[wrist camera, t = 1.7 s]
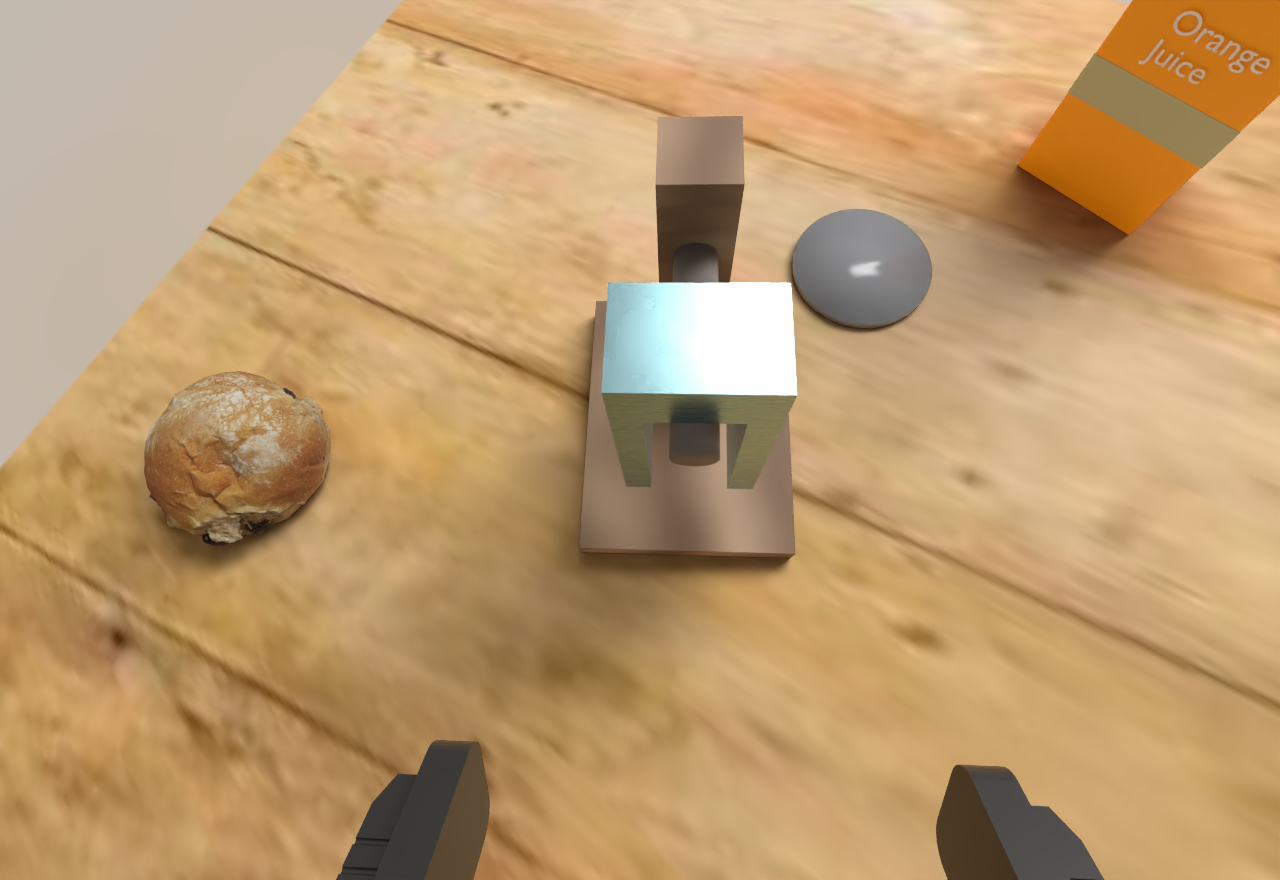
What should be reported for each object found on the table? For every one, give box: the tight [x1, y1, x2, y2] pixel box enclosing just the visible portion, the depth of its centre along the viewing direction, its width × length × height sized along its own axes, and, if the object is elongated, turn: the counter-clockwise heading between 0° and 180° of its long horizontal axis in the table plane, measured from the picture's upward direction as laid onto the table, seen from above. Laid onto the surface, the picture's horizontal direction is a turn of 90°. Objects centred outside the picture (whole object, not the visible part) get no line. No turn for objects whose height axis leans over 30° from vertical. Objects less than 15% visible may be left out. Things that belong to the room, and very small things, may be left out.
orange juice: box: [1017, 0, 1280, 235], centre depth 34 cm, size 8×9×20 cm
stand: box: [579, 116, 795, 558], centre depth 29 cm, size 12×16×19 cm
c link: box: [601, 283, 797, 489], centre depth 25 cm, size 6×4×11 cm, turn 88°
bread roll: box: [144, 371, 330, 546], centre depth 37 cm, size 10×10×8 cm
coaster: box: [792, 209, 932, 328], centre depth 41 cm, size 9×9×1 cm
